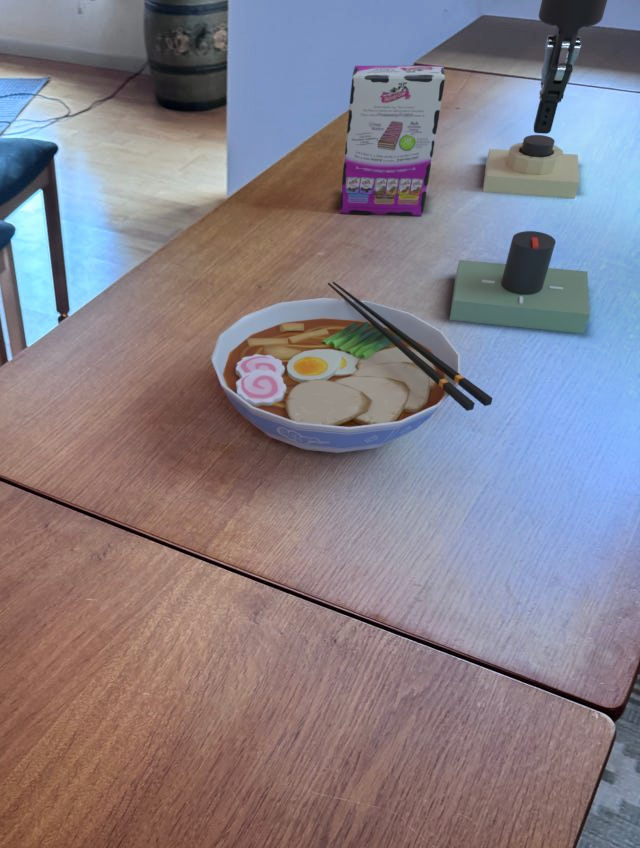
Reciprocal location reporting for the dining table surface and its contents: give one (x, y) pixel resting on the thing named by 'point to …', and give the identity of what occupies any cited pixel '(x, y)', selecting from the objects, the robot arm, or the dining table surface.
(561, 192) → the housing
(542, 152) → the button
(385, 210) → the candy bar box
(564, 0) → the robot arm
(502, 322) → the panel
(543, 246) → the knob
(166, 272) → the dining table surface
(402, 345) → the ramen bowl
